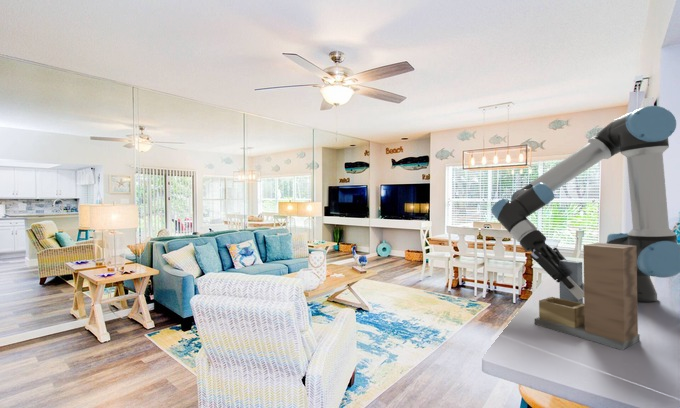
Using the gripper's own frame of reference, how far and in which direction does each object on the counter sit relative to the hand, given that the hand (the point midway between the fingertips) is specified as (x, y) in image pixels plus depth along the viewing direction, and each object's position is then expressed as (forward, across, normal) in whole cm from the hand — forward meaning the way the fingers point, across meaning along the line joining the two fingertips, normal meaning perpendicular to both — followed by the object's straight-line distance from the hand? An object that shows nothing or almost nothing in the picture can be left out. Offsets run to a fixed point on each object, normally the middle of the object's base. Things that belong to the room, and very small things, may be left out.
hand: (585, 296), depth 98 cm
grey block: (+2, 0, -7) cm, 7 cm away
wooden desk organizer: (+8, +12, -1) cm, 15 cm away
